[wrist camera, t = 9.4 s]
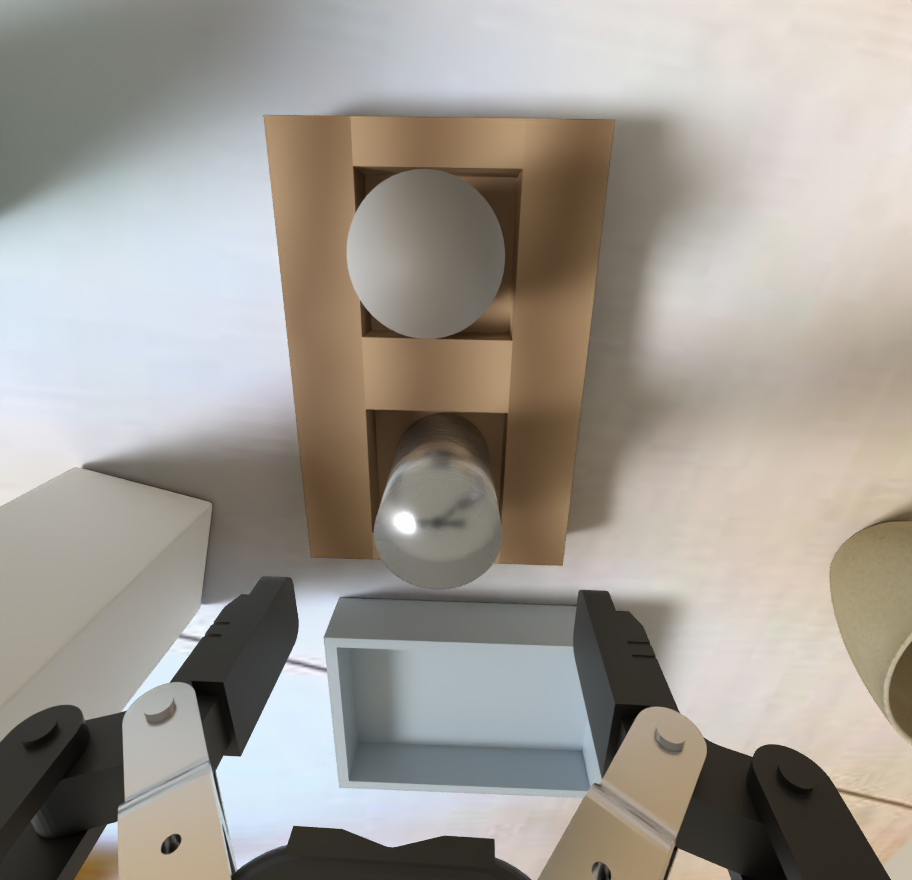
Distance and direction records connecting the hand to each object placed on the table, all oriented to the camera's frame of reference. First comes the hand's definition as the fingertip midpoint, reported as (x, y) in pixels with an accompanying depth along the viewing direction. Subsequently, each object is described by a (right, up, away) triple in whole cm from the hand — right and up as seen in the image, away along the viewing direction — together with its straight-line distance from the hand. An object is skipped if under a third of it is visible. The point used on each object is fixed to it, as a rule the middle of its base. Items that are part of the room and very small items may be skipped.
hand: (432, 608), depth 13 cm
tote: (+2, -10, +15) cm, 18 cm away
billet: (0, +4, +10) cm, 10 cm away
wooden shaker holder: (0, +8, +9) cm, 12 cm away
